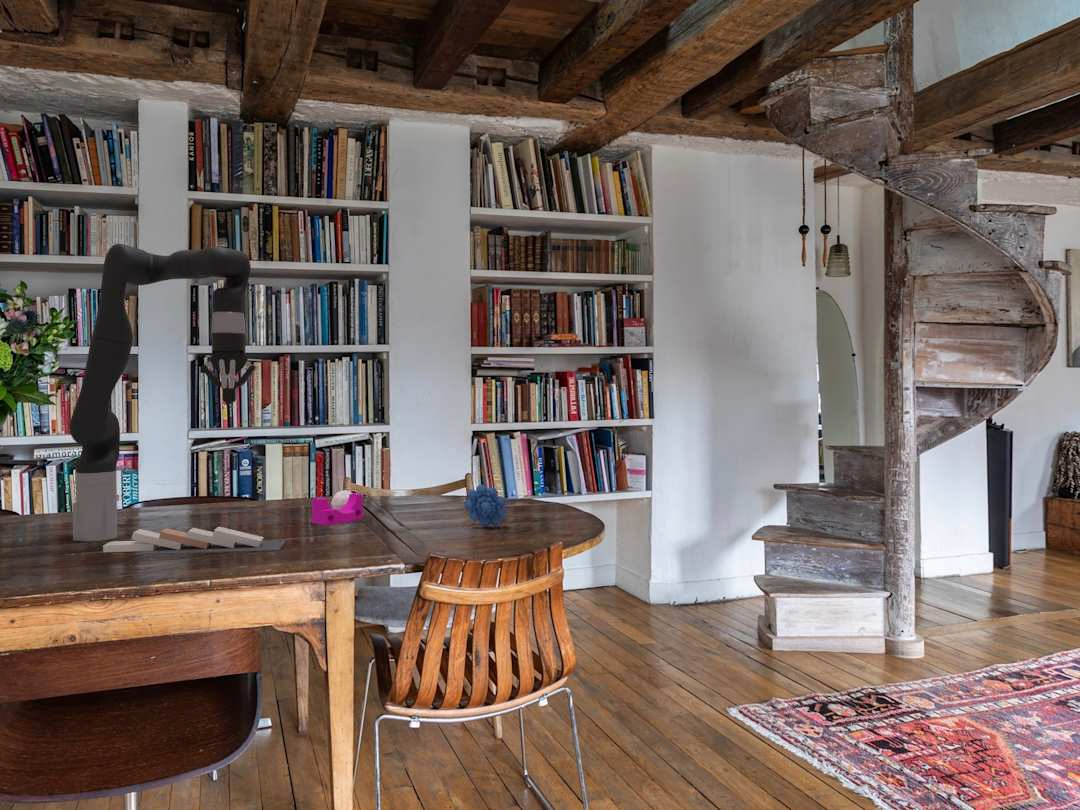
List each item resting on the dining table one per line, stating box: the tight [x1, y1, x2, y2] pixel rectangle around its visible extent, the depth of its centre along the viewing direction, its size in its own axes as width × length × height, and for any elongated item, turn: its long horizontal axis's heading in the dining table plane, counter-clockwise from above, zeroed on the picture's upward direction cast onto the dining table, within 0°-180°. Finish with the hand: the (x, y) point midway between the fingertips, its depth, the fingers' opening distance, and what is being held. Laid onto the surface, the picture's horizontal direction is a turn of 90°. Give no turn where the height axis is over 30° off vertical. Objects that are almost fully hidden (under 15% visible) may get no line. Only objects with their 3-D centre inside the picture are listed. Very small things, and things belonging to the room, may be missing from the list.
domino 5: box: [212, 526, 264, 547], centre depth 199 cm, size 2×5×11 cm
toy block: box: [311, 492, 364, 526], centre depth 238 cm, size 15×6×8 cm, turn 140°
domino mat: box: [135, 539, 287, 556], centre depth 198 cm, size 32×12×1 cm, turn 100°
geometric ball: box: [330, 489, 353, 510], centre depth 247 cm, size 8×8×8 cm
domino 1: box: [102, 540, 159, 553], centre depth 195 cm, size 2×5×11 cm
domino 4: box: [186, 527, 238, 548], centre depth 198 cm, size 2×5×11 cm
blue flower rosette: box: [464, 484, 507, 528], centre depth 227 cm, size 12×7×12 cm, turn 97°
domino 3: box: [159, 527, 211, 549], centre depth 197 cm, size 2×5×11 cm
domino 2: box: [131, 528, 185, 550], centre depth 196 cm, size 2×5×11 cm
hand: (229, 404), depth 197 cm, fingers closed
